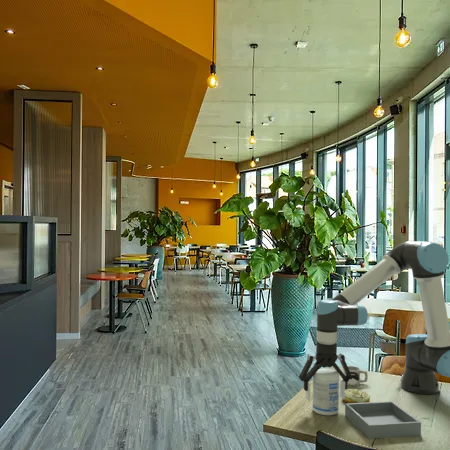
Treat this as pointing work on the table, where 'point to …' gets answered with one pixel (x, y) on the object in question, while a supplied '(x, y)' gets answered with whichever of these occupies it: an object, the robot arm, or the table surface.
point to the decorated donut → (356, 396)
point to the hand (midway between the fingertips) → (325, 398)
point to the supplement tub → (326, 392)
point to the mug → (356, 376)
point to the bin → (382, 419)
